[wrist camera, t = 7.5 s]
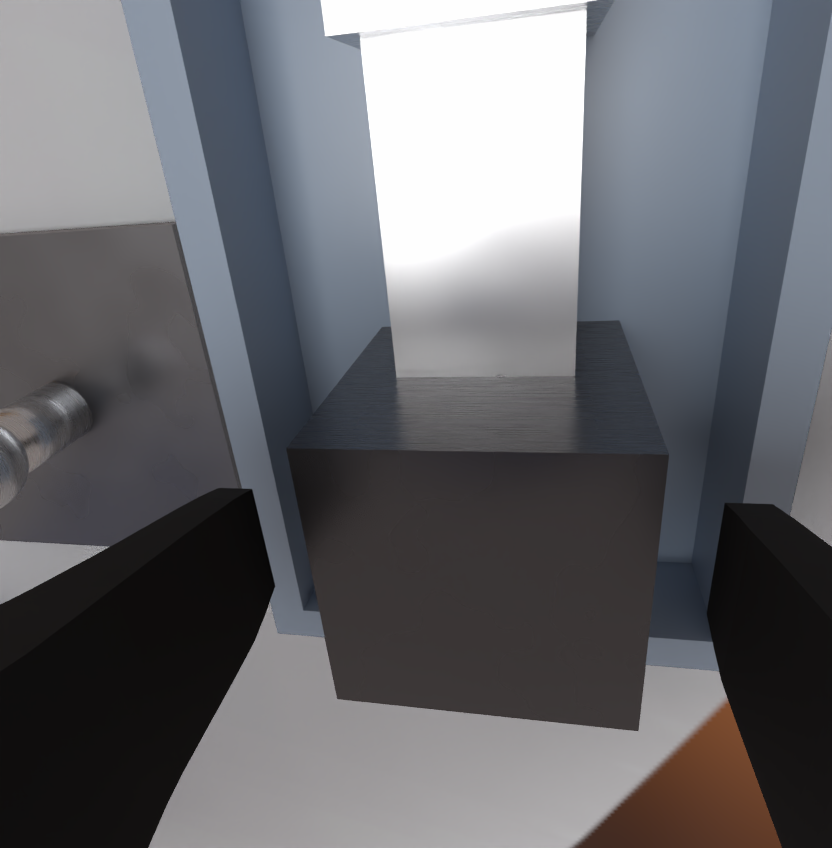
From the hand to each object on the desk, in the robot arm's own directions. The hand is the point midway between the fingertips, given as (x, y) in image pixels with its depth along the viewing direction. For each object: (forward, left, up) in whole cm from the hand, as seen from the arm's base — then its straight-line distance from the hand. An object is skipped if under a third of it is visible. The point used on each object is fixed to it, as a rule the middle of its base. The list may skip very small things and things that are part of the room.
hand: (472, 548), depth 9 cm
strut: (+3, 0, -5) cm, 6 cm away
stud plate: (0, +11, -5) cm, 13 cm away
